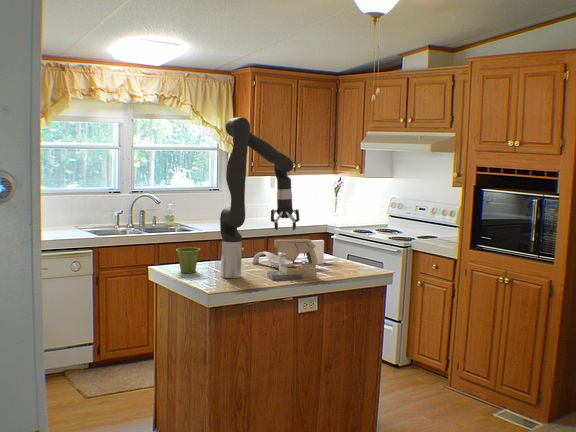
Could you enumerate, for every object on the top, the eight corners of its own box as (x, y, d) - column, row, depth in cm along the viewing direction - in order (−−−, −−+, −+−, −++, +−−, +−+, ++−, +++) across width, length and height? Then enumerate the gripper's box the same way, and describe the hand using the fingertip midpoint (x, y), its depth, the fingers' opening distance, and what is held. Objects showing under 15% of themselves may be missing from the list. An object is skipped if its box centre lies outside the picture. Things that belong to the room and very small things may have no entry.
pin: (279, 274, 294) (279, 253, 293) (277, 272, 298) (277, 252, 297) (286, 273, 295) (286, 253, 294) (284, 272, 299) (284, 252, 298)
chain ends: (271, 280, 279) (272, 269, 279) (267, 276, 288) (267, 266, 287) (316, 278, 285) (316, 268, 285) (310, 274, 294) (310, 264, 293)
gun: (318, 268, 311) (316, 239, 310) (315, 269, 308) (313, 240, 307) (278, 266, 323) (276, 239, 322) (275, 267, 320) (273, 239, 319)
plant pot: (190, 268, 303) (190, 246, 302) (204, 272, 294) (204, 249, 293) (170, 271, 295) (170, 248, 293) (184, 275, 286) (184, 252, 285)
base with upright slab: (319, 260, 333) (320, 239, 332) (326, 263, 325) (326, 241, 324) (304, 261, 330) (305, 239, 329) (311, 264, 322) (311, 242, 320)
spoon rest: (297, 267, 312) (297, 254, 311) (284, 271, 302) (284, 257, 301) (260, 262, 325) (261, 249, 324) (247, 265, 315) (247, 252, 315)
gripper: (269, 198, 295) (270, 231, 297) (297, 198, 293) (298, 231, 295) (271, 197, 303) (272, 228, 305) (299, 197, 300) (300, 228, 302)
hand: (285, 230), depth 300 cm, fingers open, 8 cm apart
